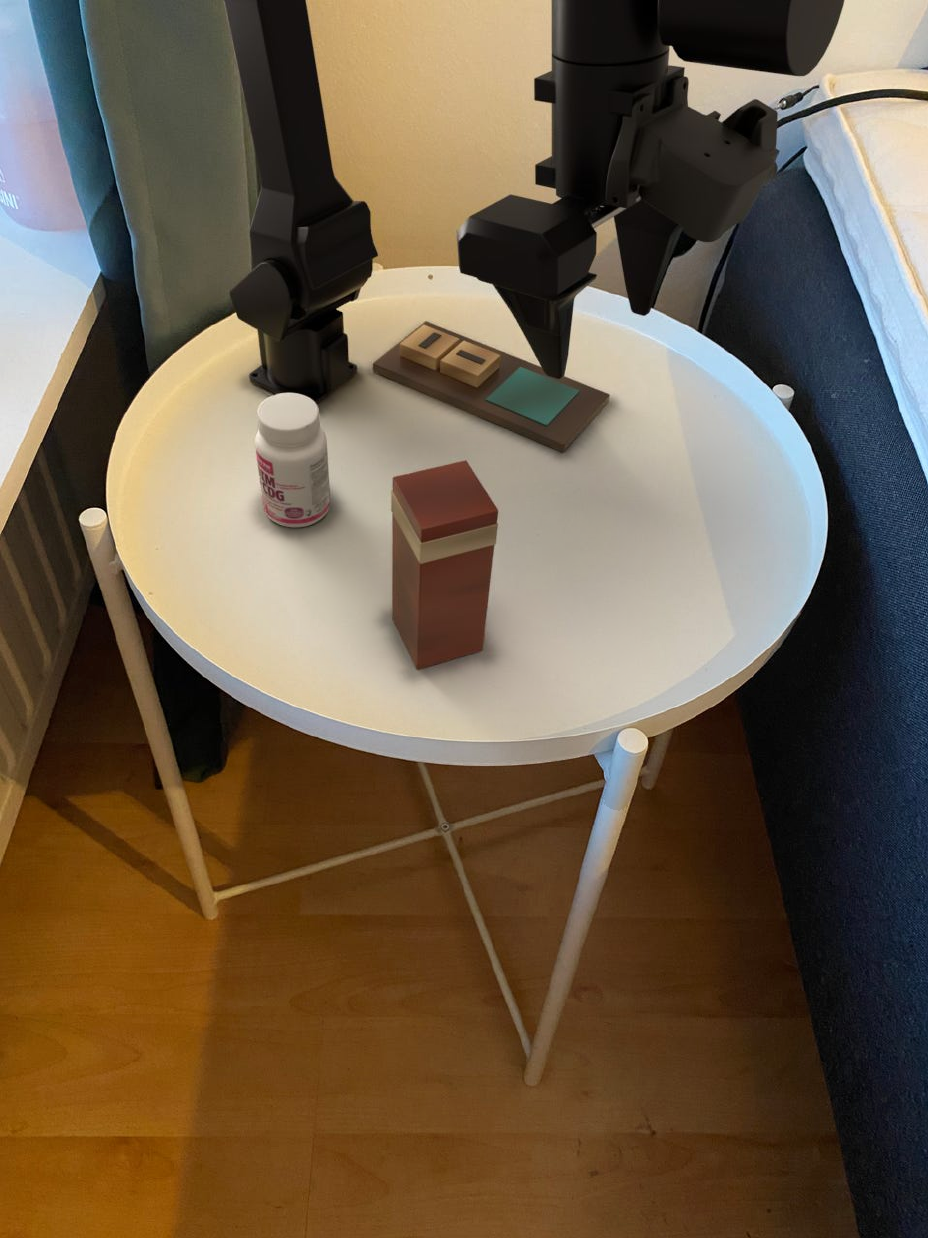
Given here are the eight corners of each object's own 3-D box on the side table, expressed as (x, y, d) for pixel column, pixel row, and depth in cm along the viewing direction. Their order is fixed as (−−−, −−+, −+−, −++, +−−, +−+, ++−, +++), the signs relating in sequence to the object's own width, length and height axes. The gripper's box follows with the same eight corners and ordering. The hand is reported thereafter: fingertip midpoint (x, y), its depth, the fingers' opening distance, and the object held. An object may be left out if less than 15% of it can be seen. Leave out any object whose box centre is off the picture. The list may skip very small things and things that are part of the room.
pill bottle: (251, 518, 68) (236, 421, 62) (282, 477, 71) (271, 381, 65) (312, 537, 67) (304, 440, 61) (341, 495, 70) (336, 398, 64)
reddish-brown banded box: (390, 618, 63) (390, 476, 54) (456, 600, 64) (466, 458, 55) (416, 671, 60) (421, 530, 51) (484, 651, 61) (500, 510, 52)
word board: (372, 371, 81) (372, 349, 79) (425, 328, 85) (426, 307, 84) (563, 452, 75) (566, 430, 73) (608, 402, 80) (613, 380, 78)
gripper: (653, 130, 38) (631, 460, 49) (849, 21, 48) (795, 315, 59) (439, 93, 44) (461, 397, 55) (655, 2, 54) (638, 274, 65)
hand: (599, 343), depth 58 cm, fingers open, 9 cm apart
